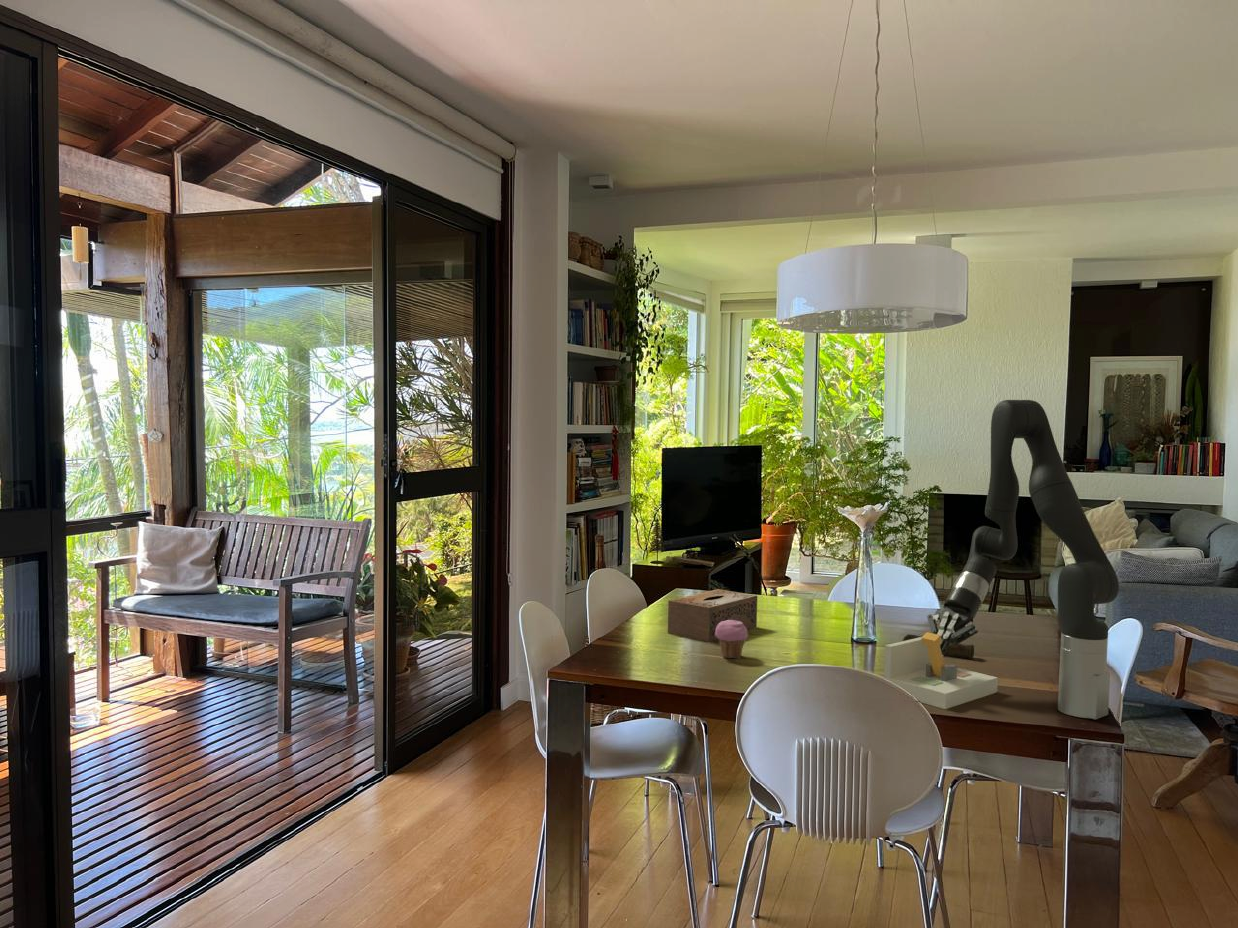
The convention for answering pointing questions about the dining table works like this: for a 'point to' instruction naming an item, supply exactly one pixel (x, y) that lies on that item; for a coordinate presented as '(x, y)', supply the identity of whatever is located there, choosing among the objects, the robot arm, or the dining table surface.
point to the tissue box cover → (710, 613)
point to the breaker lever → (934, 651)
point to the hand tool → (952, 648)
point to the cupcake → (731, 637)
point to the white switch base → (933, 676)
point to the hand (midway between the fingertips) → (936, 653)
